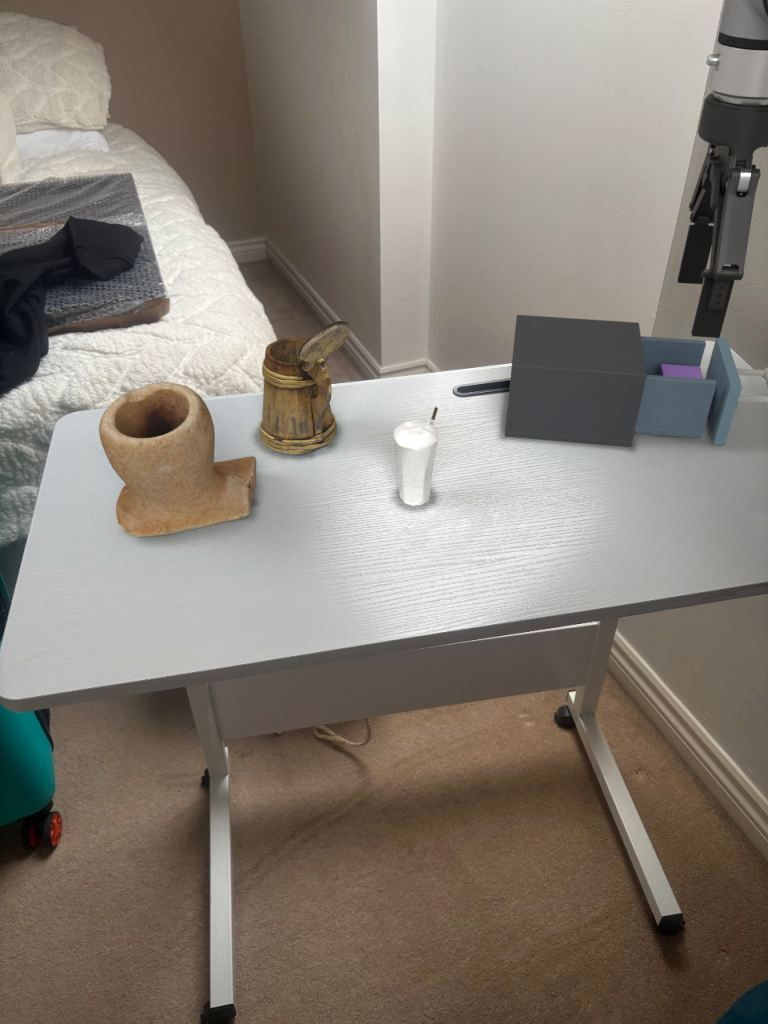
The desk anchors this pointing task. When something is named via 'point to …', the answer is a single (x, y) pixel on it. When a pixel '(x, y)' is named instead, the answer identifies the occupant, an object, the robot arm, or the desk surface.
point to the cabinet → (575, 380)
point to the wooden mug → (300, 391)
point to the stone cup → (171, 463)
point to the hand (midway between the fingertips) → (696, 307)
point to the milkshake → (415, 459)
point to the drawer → (691, 389)
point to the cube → (680, 371)
